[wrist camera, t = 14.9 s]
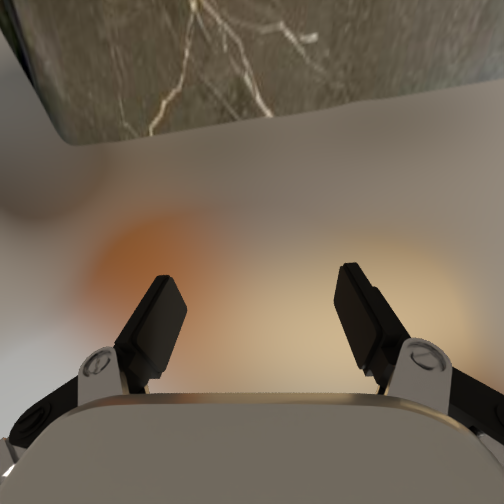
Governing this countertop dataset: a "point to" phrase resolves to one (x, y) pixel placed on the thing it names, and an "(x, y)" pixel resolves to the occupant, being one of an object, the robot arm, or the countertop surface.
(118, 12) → the countertop surface
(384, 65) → the countertop surface
